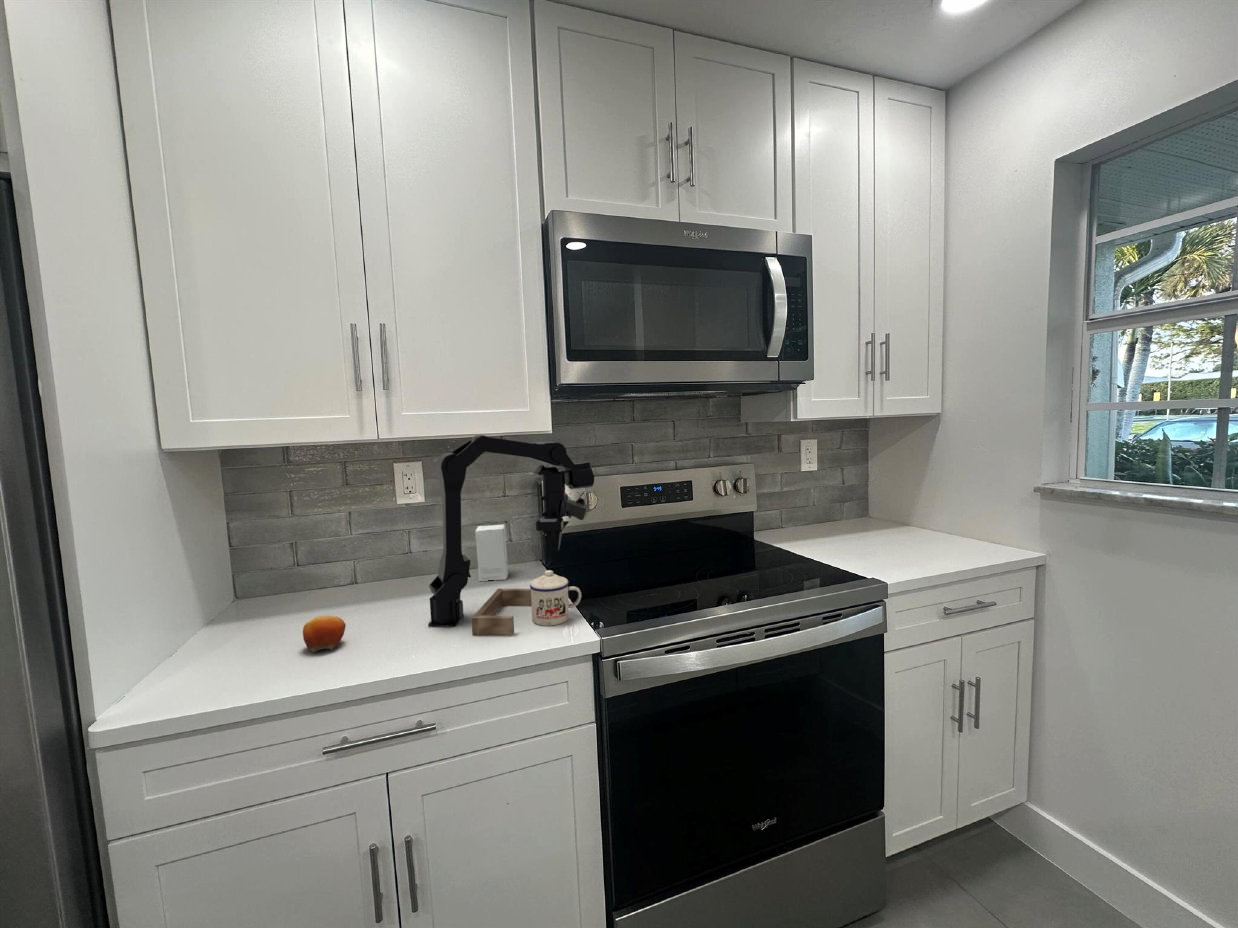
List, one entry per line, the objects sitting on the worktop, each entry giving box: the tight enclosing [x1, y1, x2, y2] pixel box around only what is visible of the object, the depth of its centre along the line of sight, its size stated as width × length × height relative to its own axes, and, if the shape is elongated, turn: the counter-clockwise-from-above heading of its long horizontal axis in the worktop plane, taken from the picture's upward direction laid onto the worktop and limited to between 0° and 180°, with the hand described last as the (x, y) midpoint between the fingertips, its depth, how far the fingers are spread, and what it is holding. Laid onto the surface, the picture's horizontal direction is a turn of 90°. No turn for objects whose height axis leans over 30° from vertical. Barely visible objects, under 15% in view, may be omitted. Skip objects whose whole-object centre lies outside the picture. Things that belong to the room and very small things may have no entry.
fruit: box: [302, 615, 347, 655], centre depth 115 cm, size 8×8×8 cm
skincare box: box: [474, 524, 509, 582], centre depth 161 cm, size 8×7×16 cm
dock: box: [471, 588, 532, 637], centre depth 129 cm, size 9×20×4 cm, turn 176°
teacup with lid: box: [529, 569, 582, 627], centre depth 128 cm, size 12×9×12 cm
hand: (556, 550), depth 141 cm, fingers closed
